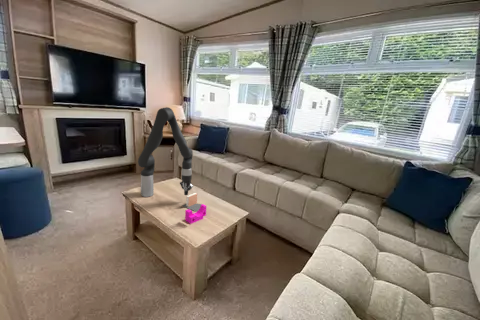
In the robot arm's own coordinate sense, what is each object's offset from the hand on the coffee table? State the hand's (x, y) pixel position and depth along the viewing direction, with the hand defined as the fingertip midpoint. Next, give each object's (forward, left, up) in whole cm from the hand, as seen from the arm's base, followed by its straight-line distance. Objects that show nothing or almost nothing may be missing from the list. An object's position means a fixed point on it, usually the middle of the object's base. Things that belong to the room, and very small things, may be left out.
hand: (186, 194), depth 170 cm
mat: (+9, 0, -6) cm, 11 cm away
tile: (+6, 0, -6) cm, 9 cm away
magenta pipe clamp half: (+24, -12, -7) cm, 28 cm away
